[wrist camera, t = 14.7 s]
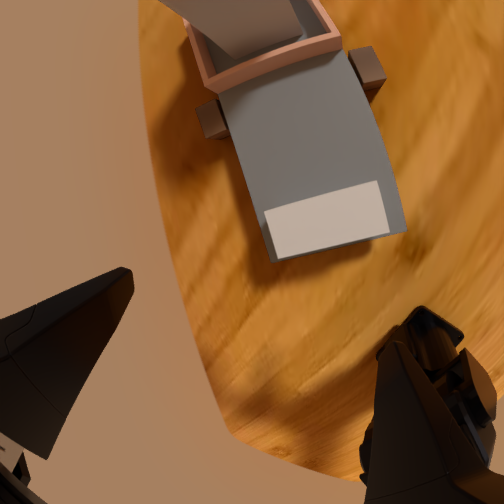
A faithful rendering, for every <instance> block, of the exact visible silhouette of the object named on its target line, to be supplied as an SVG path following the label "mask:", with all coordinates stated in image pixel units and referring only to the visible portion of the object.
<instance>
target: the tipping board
mask: <svg viewBox="0 0 504 504" xmlns="http://www.w3.org/2000/svg"><path fill="white" fill-rule="evenodd" d="M289 1H290V3H291V5H292V8H293V10H294V12H295V14H296V17H297V19H298V21H299V24H300V26H301V29H302V31H303V34H302V35H299V36H296V37H293V38H290V39H287V40H284V41H281V42H278V43H275V44H273V45H270V46H267V47H265V48H262V49H260V50H257V51H255V52H252V53H250V54H248V55H245V56H243V57H241V58H238V59H236V60H234V59H233V58H232V57H231V56H230V55H229V54H227V53H226V52H225V51H224V50H223V49H222V48H220V47H219V46H218V45H217V44H216V43H215V42H213V41H212V40H211V39H210V38H209V37H207V36H206V35H205V34H204V33H202V32H201V31H200V30H199V29H197V28H196V27H195V26H193V25H192V24H191V23H190V22H188V21H187V20H186V19H184V18H183V17H182V18H183V21H184V24H185V27H186V30H187V33H188V37H189V40H190V43H191V46H192V49H193V52H194V55H195V58H196V61H197V65H198V68H199V71H200V74H201V77H202V80H203V83H204V87H206V88H208V89H210V90H211V91H213V92H215V93H217V94H218V97H219V100H220V103H221V106H222V109H223V112H224V115H225V118H226V121H227V124H228V127H229V130H230V133H231V136H232V139H233V142H234V146H235V149H236V152H237V155H238V158H239V161H240V164H241V167H242V171H243V174H244V177H245V180H246V183H247V186H248V190H249V193H250V196H251V199H252V202H253V206H254V209H255V212H256V215H257V219H258V222H259V225H260V228H261V232H262V235H263V238H264V241H265V245H266V248H267V251H268V255H269V258H270V261H271V263H275V262H279V261H283V260H288V259H292V258H296V257H301V256H305V255H309V254H314V253H318V252H322V251H327V250H331V249H335V248H339V247H343V246H348V245H352V244H356V243H360V242H364V241H368V240H373V239H377V238H381V237H385V236H389V235H393V234H397V233H401V232H405V231H407V227H406V222H405V218H404V213H403V209H402V204H401V200H400V196H399V192H398V188H397V185H396V181H395V178H394V174H393V171H392V167H391V164H390V161H389V157H388V154H387V151H386V148H385V145H384V142H383V139H382V137H381V134H380V131H379V128H378V126H377V123H376V120H375V118H374V115H373V113H372V110H371V108H370V105H369V103H368V101H367V98H366V96H365V94H364V91H363V89H362V87H361V85H360V83H359V80H358V78H357V76H356V74H355V72H354V70H353V68H352V66H351V64H350V62H349V60H348V58H347V56H346V54H345V52H344V51H343V48H342V39H341V35H340V33H339V31H338V30H337V28H336V26H335V25H334V23H333V22H332V20H331V18H330V17H329V15H328V14H327V12H326V11H325V9H324V8H323V6H322V5H321V3H320V2H319V0H289Z"/></svg>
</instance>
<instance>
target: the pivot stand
mask: <svg viewBox="0 0 504 504" xmlns="http://www.w3.org/2000/svg"><path fill="white" fill-rule="evenodd" d="M348 60H349V62H350V64H351V66H352V68H353V70H354V72H355V74H356V76H357V78H358V80H359V83H360V85H361V87H362V89H363V91H365V90H370V89H374V88H379V87H382V85H383V84H384V82H385V81H386V79H387V77H386V75H385V73H384V70H383V68H382V66H381V64H380V62H379V60H378V58H377V56H376V54H375V52H374V50H373V48H372V46H368V47H363V48H358V49H354V50H349V52H348ZM195 110H196V113H197V116H198V118H199V121H200V124H201V127H202V129H203V132H204V135H205V138H206V139H223V138H225V137H227V136H230V135H231V133H230V130H229V127H228V124H227V121H226V118H225V115H224V112H223V109H222V106H221V103H220V101H219V100H217V99H213V100H211V101H209V102H207V103H205V104H203V105H201V106H199V107H197V108H196V109H195Z"/></svg>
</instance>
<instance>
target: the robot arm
mask: <svg viewBox="0 0 504 504" xmlns="http://www.w3.org/2000/svg"><path fill="white" fill-rule="evenodd" d="M133 293H134V281H133V273H132V271H131V270H130V269H127V268H124V267H119V268H116V269H114V270H112V271H109V272H107V273H105V274H102V275H100V276H98V277H95V278H93V279H91V280H89V281H86V282H84V283H81V284H79V285H77V286H75V287H72V288H70V289H68V290H66V291H63V292H61V293H59V294H57V295H55V296H52V297H50V298H48V299H46V300H44V301H42V302H39V303H37V305H36V304H35V305H33V306H31V307H29V308H26V309H24V310H22V311H20V312H18V313H15V314H13V315H10V316H8V317H5V318H2V319H0V504H47V503H46V502H45V501H43V500H42V499H41V498H40V497H38V496H37V495H36V494H35V493H33V492H32V491H31V490H30V489H28V488H27V486H28V484H29V482H30V480H31V478H30V474H29V471H28V468H27V464H26V461H25V457H24V453H23V450H24V448H25V449H27V450H29V451H31V452H32V453H34V454H36V455H38V456H39V457H41V458H43V459H45V460H47V459H48V457H49V455H50V453H51V451H52V448H53V446H54V444H55V442H56V439H57V437H58V435H59V433H60V431H61V429H62V427H63V425H64V423H65V421H66V418H67V416H68V414H69V412H70V410H71V408H72V406H73V404H74V402H75V400H76V398H77V396H78V395H79V393H80V391H81V389H82V387H83V385H84V383H85V382H86V380H87V378H88V376H89V374H90V373H91V371H92V369H93V367H94V366H95V364H96V362H97V360H98V358H99V357H100V355H101V353H102V352H103V350H104V348H105V347H106V345H107V343H108V342H109V340H110V338H111V337H112V335H113V333H114V332H115V330H116V328H117V326H118V324H119V322H120V320H121V318H122V316H123V314H124V312H125V310H126V308H127V306H128V304H129V302H130V300H131V297H132V295H133ZM420 311H423V312H422V313H419V312H420ZM459 336H460V337H459ZM463 338H464V334H463V332H462V331H461V330H459V329H458V328H456V327H455V326H453V325H452V324H450V323H449V322H447V321H446V320H444V319H443V318H441V317H440V316H438V315H437V314H435V313H434V312H432V311H431V310H429V309H428V308H426V307H425V306H419V307H417V308H416V310H415V311H414V312H413V313H412V315H411V316H410V317H409V318H408V319H407V321H406V322H405V323H403V324H402V325H401V326H400V327H399V328H398V329H397V331H396V332H395V333H394V334H393V335H392V336H391V337H390V338H389V339H388V340H387V342H386V343H385V345H384V346H383V347H382V348H381V349H380V350H379V351H378V352H377V354H376V359H377V361H378V371H377V381H376V389H375V399H374V416H373V418H372V421H371V423H370V424H369V425H368V427H367V429H366V431H365V436H364V441H363V443H362V444H361V445H360V447H359V455H360V463H361V466H362V469H363V471H364V472H365V473H362V474H360V476H359V477H360V479H361V480H362V482H363V483H364V484H365V485H366V486H367V489H366V495H365V502H364V504H504V476H503V475H500V474H497V473H494V472H492V471H491V470H489V466H490V462H491V458H492V454H493V449H494V444H495V439H496V432H495V429H494V426H493V424H492V421H494V420H495V418H496V404H497V393H496V390H495V388H494V386H493V384H492V381H491V379H490V377H489V375H488V373H487V372H486V371H485V369H484V368H483V367H482V366H481V365H480V364H479V362H478V361H477V360H476V359H475V358H474V357H473V356H472V355H471V353H470V352H469V351H468V350H467V349H466V348H464V349H463V350H461V351H460V352H459V355H458V353H457V351H456V346H457V345H458V344H459V343H460V342H461V341H462V340H463Z"/></svg>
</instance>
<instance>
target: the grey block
mask: <svg viewBox="0 0 504 504" xmlns="http://www.w3.org/2000/svg"><path fill="white" fill-rule="evenodd" d="M159 1H160V2H162V3H163V4H165V5H166V6H167V7H169V8H170V9H172V10H173V11H175V12H176V13H177V14H179V15H180V16H182V17H183V18H184V19H186V20H187V21H188V22H190V23H191V24H192V25H193V26H195V27H196V28H197V29H199V30H200V31H201V32H202V33H204V34H205V35H206V36H207V37H209V38H210V39H211V40H212V41H213V42H215V43H216V44H217V45H218V46H219V47H220V48H222V49H223V50H224V51H225V52H226V53H227V54H229V55H230V56H231V57H232V58H233V59H234V60H236V59H238V58H241V57H243V56H245V55H248V54H250V53H252V52H255V51H257V50H260V49H262V48H265V47H267V46H270V45H273V44H275V43H278V42H281V41H284V40H287V39H290V38H293V37H296V36H299V35H302V34H303V31H302V29H301V26H300V24H299V21H298V19H297V17H296V14H295V12H294V10H293V8H292V5H291V3H290V1H289V0H159Z"/></svg>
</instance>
